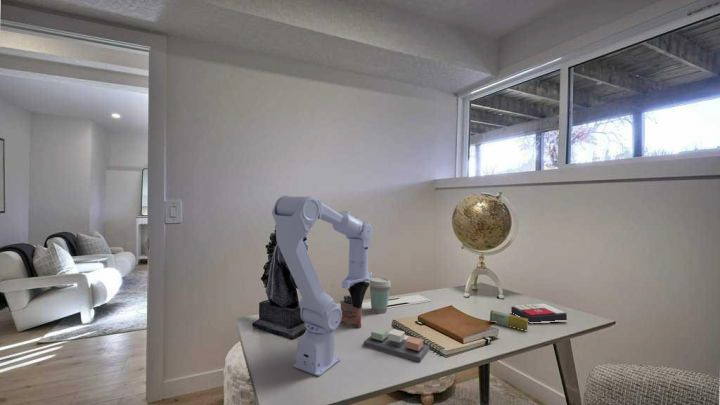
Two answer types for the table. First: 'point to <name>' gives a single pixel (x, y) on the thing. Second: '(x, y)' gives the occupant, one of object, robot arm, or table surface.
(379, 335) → the key sage
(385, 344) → the dark grey base plate
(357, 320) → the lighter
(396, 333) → the key ivory
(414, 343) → the key terracotta
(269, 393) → the table surface
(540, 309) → the white and crimson box
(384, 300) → the coffee cup
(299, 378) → the table surface
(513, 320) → the medication box
